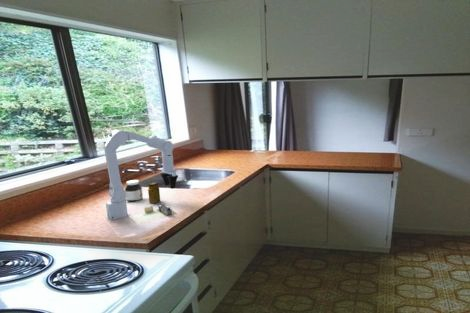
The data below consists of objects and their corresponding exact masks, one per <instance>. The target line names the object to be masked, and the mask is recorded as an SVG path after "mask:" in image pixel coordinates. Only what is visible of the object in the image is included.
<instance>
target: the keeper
mask: <svg viewBox="0 0 470 313" xmlns="http://www.w3.org/2000/svg"><path fill="white" fill-rule="evenodd" d="M143 209H144V213H150V212H153V210H154V206H153V205H152V206H147V207H144V208H143Z"/></svg>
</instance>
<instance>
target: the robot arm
mask: <svg viewBox="0 0 470 313" xmlns="http://www.w3.org/2000/svg"><path fill="white" fill-rule="evenodd" d="M133 140H134V141H138V142H140V143H141V142H142V143H145V144H146V145H147V147H150V148H153V149H157V150H161V162H162V163H161V164H162V168H161V173H160V174H159V175H160V176H161V178H162V180H163V183H164V186H169V187H170V189H175V188H176V183H177V180H178V178H179V175H177V172H176V171H177V168H176V169H175V167H174V166H175V165H174V156H173V150H174V148H175V146H174V143H173V142H172V141H170V140H166V138H163V137H162V138H160V137H157V135H150V136H145V135H142V134H139V133H136V132H133V131H129V130H120V129H113V130H112V131H110V133H109V134H108V136H107V139H106V142H105V144H104V146H103V149H104V154H105V161H106V166H107V171H108V172H107V173H108V177H109V189H108V195H109V196H110V201H108V202H107V203H105V208H106V215H107V216H106V217H107V218H108V219H109V220H110V221H112V220H116V219H122V218H125V217H126V216H128V215H129V214H128V207H127V206H128V205H127V200H126V192H125V189H124V185H123V183H122V180H121V175H120V169H119V162H118V156H117V150H118V149H119V147H120V146H122V145H123V144H125V143H127V142H129V141H133Z"/></svg>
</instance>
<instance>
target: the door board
mask: <svg viewBox="0 0 470 313" xmlns="http://www.w3.org/2000/svg"><path fill="white" fill-rule="evenodd" d="M177 214H178V213H177V212H176V211H174V210H172V215H168V216H167V215H166V214H164V213H163V212H161V211H159V208H157V209H153V212H150V213H145V212H142V213H138V214H133V215H130V216H129V218H130V219H131V220H132V221H133V222H134V223H136V225H140V224H145V223H147V222H148V223H149V222H151V221H152V222H153V221H155V220H159V219H163V218H166V217H171V216H174V215H177Z"/></svg>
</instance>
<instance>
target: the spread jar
mask: <svg viewBox="0 0 470 313" xmlns="http://www.w3.org/2000/svg"><path fill="white" fill-rule="evenodd" d="M124 190H125V192H126V202H127V203H128V202H129V203H134V202H139V201H141V200H142V199H143V186H142V185H141V183H140V181H139V179H132V180H128V181H126V186H125V189H124Z"/></svg>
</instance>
